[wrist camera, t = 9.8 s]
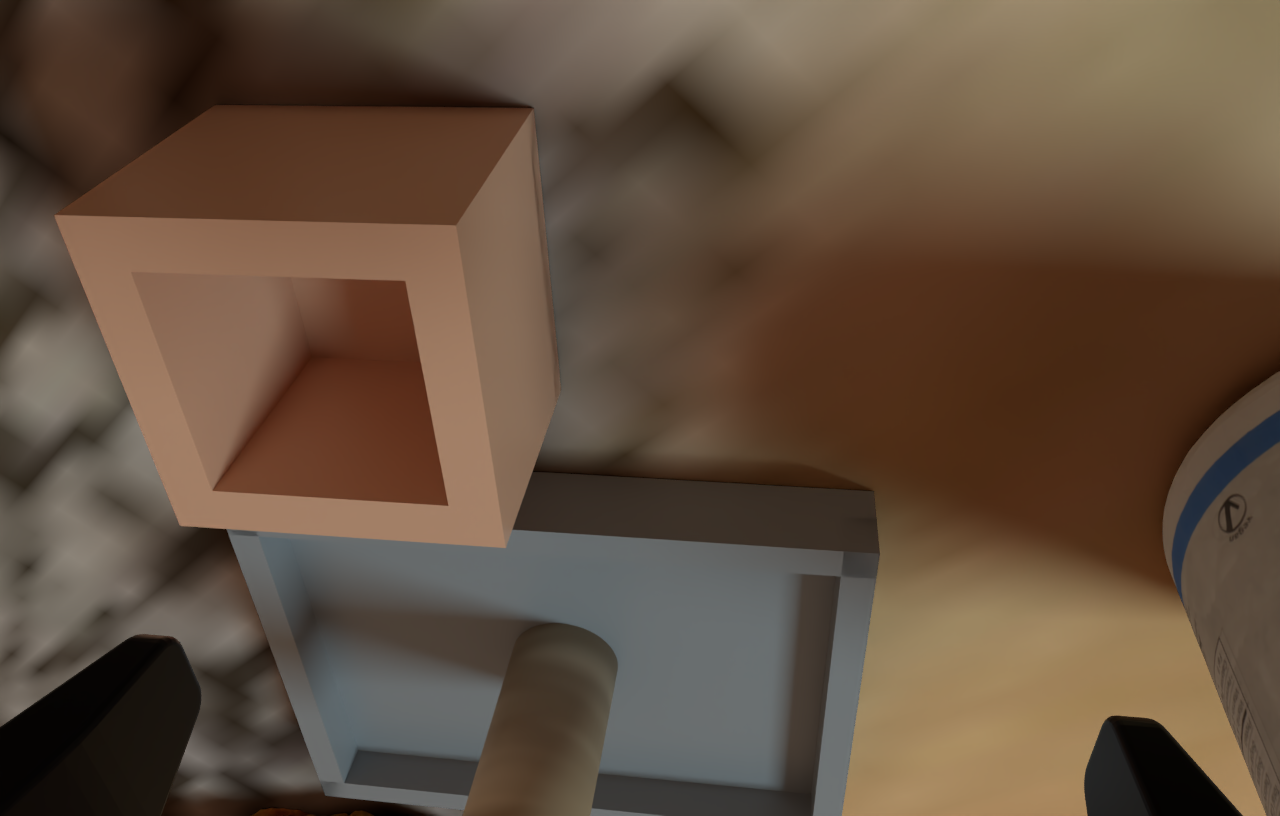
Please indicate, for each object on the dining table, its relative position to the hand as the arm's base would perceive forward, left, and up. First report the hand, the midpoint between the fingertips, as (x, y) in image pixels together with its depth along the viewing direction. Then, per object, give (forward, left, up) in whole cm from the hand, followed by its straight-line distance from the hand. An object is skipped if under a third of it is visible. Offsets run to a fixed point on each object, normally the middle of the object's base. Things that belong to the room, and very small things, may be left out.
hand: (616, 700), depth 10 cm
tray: (+4, +14, -13) cm, 20 cm away
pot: (+7, +2, -13) cm, 15 cm away
